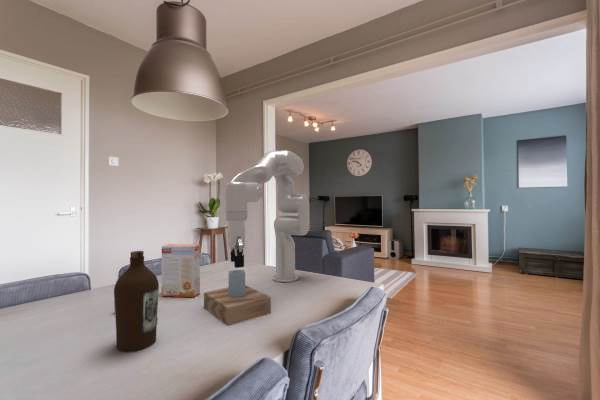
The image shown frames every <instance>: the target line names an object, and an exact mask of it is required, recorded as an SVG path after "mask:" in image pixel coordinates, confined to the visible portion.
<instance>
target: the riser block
mask: <svg viewBox="0 0 600 400" xmlns="http://www.w3.org/2000/svg"><path fill="white" fill-rule="evenodd" d="M271 298H272V297H271V296H269V295H267V294H265V293H264V292H261V291H259V290H257V289H255V288H252V287H250V286H248V285H246V284H245V296H242V297H232V298H229V286H228V287H223V288H218V289H212V290H210V291H204V292H203V308H204V309H206V310H207V311H208V312H209V313H211V314H212V315H213V316H214V317H216V318H217V319H218V320H220V321H221V322H223V324H225V325H227V326H230V325H231V326H232V325H233V324H234V325H235V324H237V323H240V322H244V321H248V320H251V319H254V318H258V317H259V318H260V317H262V316H265V315H268V314H271V313H272V312H271V309H272V307H271V304H272V303H271V301H272V300H271Z"/></svg>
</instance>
